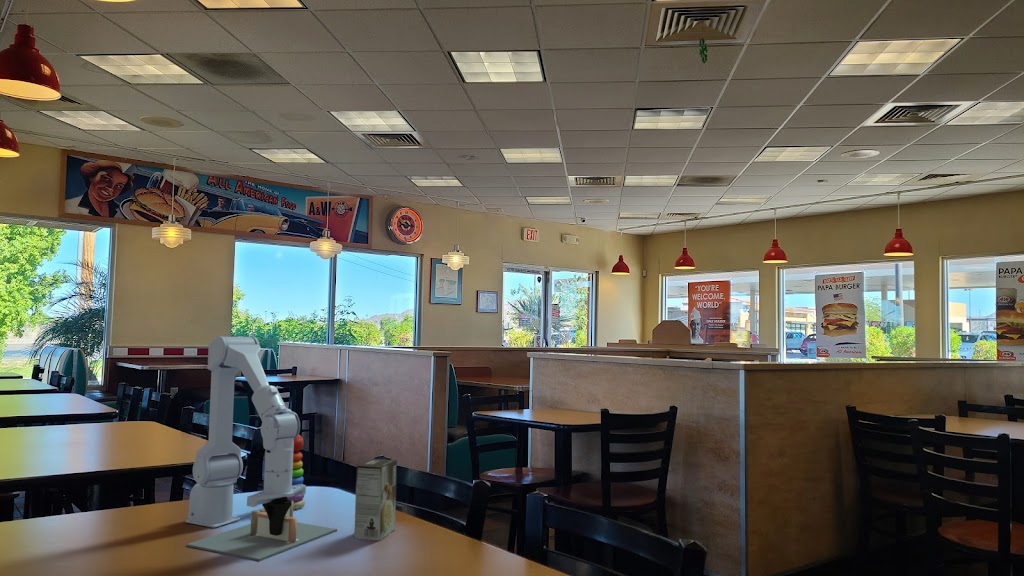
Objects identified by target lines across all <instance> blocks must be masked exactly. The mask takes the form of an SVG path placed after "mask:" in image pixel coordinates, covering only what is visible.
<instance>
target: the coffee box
mask: <svg viewBox="0 0 1024 576" xmlns="http://www.w3.org/2000/svg"><path fill="white" fill-rule="evenodd" d="M397 466H398V460H397V459H383V458H382V459H381V458H370V459H369V460H367V461H365V462H362V463H360V464H358V465H356V474H355V476H356V477H355V507H354V533H353V534H354V539H358V540H366V541H367V540H369V541H378V542H380V541H381V540H382V541H383V539H385V538H386V537H387V536H388V535H390V534H391V533H392V532H394V531H395V530H396V515H397V513H396V507H397V503H396V502H397V501H396V500H397V475H398V474H397V473H398V472H397V471H398V470H397V468H398V467H397Z"/></svg>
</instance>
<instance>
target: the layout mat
mask: <svg viewBox="0 0 1024 576" xmlns="http://www.w3.org/2000/svg"><path fill="white" fill-rule="evenodd" d="M250 531H251V523H248V524H245V525H243V526H240V527H236V528H232V529H229V530H226V531H223V532H220V533H217V534H214V535H211V536H210V535H209V536H207V537H205V538H202V539H198V540H195V541H193V542H189V543H186V547H190V548H194V549H199V550H204V551H209V552H213V553H218V554H223V555H228V556H233V557H237V558H242V559H243V558H244V559H249V560H253V561H256V562H257V561H258V562H261V561H263V560H265V559H268V558H271V557H274V556H276V555H278V554H282V553H284V552H286V551H289V550H292V549H295V548H298V547H300V546H301V545H305V544H306V543H309V542H311V541H312V542H313V541H316V540H317V539H320V538H322V537H325V536H328V535H331V534H333V533H336V532H337V531H338V529H337V528H333V527H328V526H327V527H326V526H321V525H314V524H311V523H310V524H309V523H305V522H304V523H303V522H298V521H297V531H296V541H295V542H289V541H285V540H280V539H275V538H270V537H265V536H260V535H255V536H252V535H250Z"/></svg>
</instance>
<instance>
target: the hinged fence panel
mask: <svg viewBox="0 0 1024 576" xmlns="http://www.w3.org/2000/svg"><path fill="white" fill-rule="evenodd" d="M257 517H258V525H257V535H260V536H265V537H270V538H275V539H280V540H285V541H289V542H295V541H296V531H297V522H298V517H295V516H293V517H290V516H285V518H284V520H283V528H282V533H281V535H278V536H275V535H271V534H270V531H269V518H268V515H267V513H266V512H260V513H257Z"/></svg>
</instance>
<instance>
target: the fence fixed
mask: <svg viewBox="0 0 1024 576" xmlns="http://www.w3.org/2000/svg"><path fill="white" fill-rule="evenodd" d="M260 512H266V511H265V509H264V507H263V508H258V509H257V510H256V509H255V510H254V509H253V510H251V514H250V524H251V531H250V535H252V536H255V535H257V525H258V517H257V513H260ZM285 516H290V517H294V510H293V501H292V505H291V506H290V508H289V509H288V511H287V513H286V515H285Z"/></svg>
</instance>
